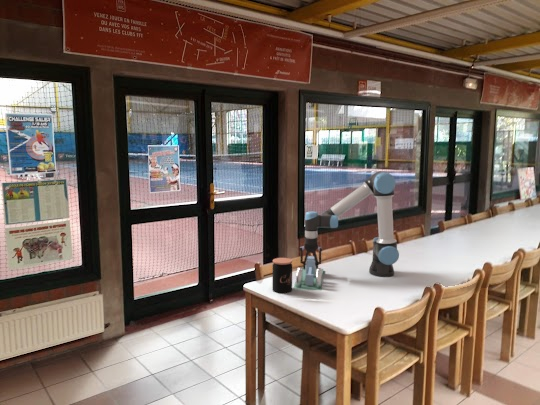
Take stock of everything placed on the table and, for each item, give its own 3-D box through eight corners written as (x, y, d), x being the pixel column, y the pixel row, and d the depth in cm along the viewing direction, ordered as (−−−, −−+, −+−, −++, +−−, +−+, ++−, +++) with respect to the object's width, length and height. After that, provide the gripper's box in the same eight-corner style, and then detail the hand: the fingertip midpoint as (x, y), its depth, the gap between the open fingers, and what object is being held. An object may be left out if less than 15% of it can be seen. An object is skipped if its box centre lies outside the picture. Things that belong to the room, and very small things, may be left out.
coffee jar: (280, 297, 220) (280, 264, 218) (268, 291, 229) (268, 259, 226) (295, 293, 227) (296, 260, 224) (283, 287, 235) (284, 256, 233)
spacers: (321, 281, 242) (321, 268, 241) (321, 289, 229) (321, 275, 228) (297, 280, 244) (297, 267, 243) (295, 287, 231) (295, 273, 230)
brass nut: (313, 283, 239) (313, 278, 238) (313, 286, 234) (313, 280, 234) (304, 283, 239) (304, 277, 239) (304, 285, 235) (304, 280, 235)
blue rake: (315, 272, 259) (315, 256, 258) (313, 285, 233) (313, 268, 232) (307, 271, 259) (307, 256, 258) (304, 285, 233) (305, 267, 232)
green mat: (323, 270, 267) (323, 268, 267) (321, 292, 228) (321, 290, 227) (299, 269, 269) (299, 267, 269) (293, 290, 230) (293, 288, 230)
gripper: (326, 236, 252) (325, 273, 255) (296, 235, 254) (296, 272, 257) (326, 239, 244) (325, 277, 247) (295, 238, 247) (295, 276, 250)
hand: (310, 274), depth 252 cm, fingers closed on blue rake, 5 cm apart
